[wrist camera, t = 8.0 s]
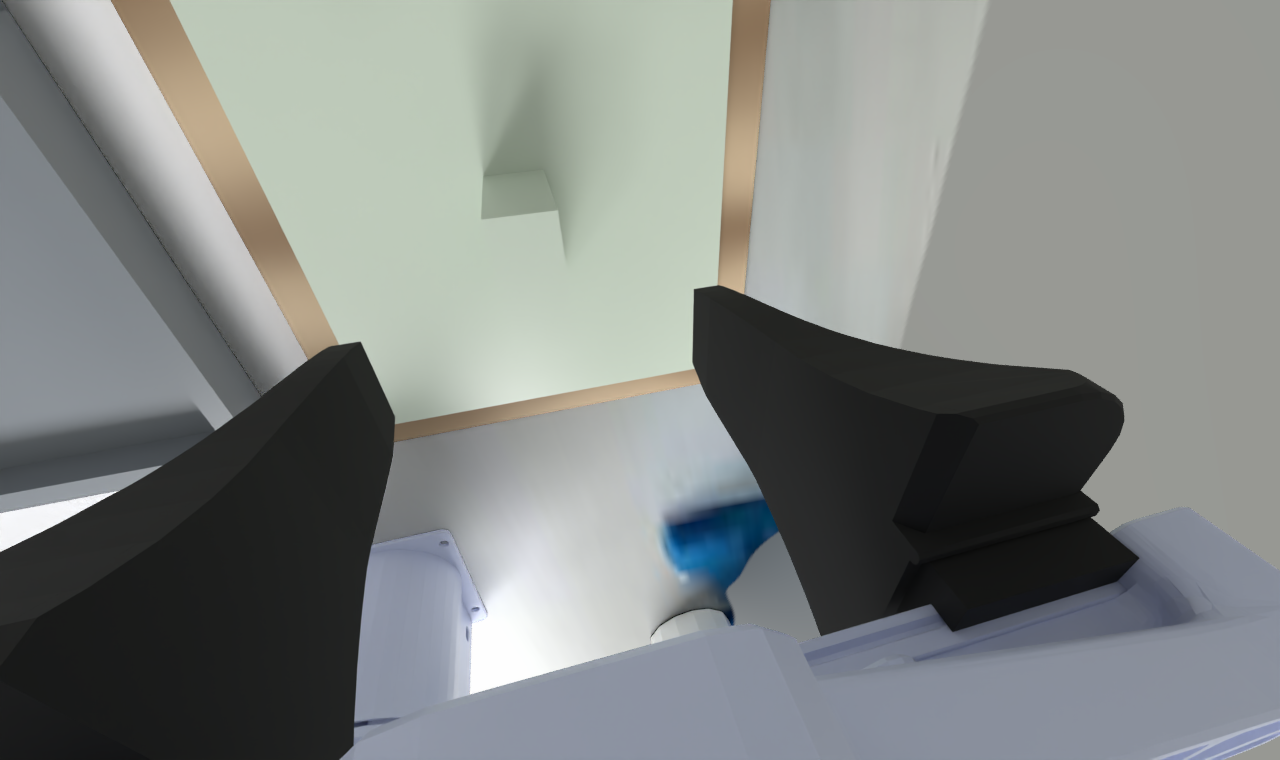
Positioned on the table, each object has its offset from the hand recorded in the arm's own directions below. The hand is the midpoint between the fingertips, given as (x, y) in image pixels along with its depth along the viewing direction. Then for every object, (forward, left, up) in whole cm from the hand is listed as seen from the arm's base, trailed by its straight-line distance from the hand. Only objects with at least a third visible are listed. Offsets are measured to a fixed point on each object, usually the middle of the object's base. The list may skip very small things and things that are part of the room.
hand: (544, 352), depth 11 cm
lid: (0, 0, -9) cm, 9 cm away
